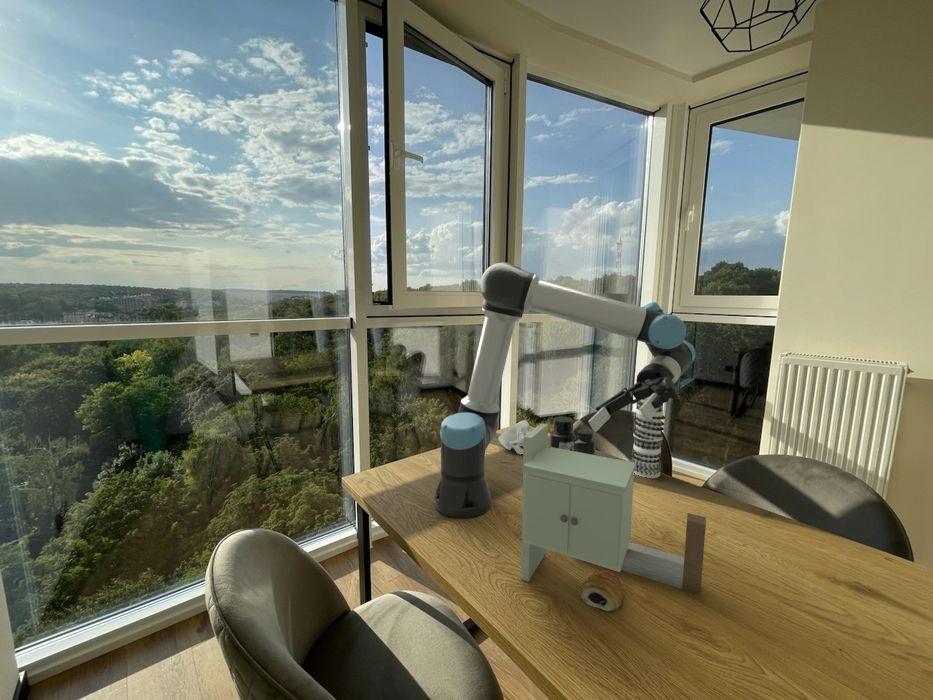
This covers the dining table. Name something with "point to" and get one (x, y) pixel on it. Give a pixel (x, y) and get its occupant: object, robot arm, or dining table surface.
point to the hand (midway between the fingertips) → (616, 420)
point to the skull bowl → (515, 436)
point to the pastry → (602, 591)
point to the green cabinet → (574, 505)
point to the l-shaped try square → (672, 559)
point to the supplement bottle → (584, 442)
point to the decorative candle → (647, 442)
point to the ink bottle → (562, 434)
